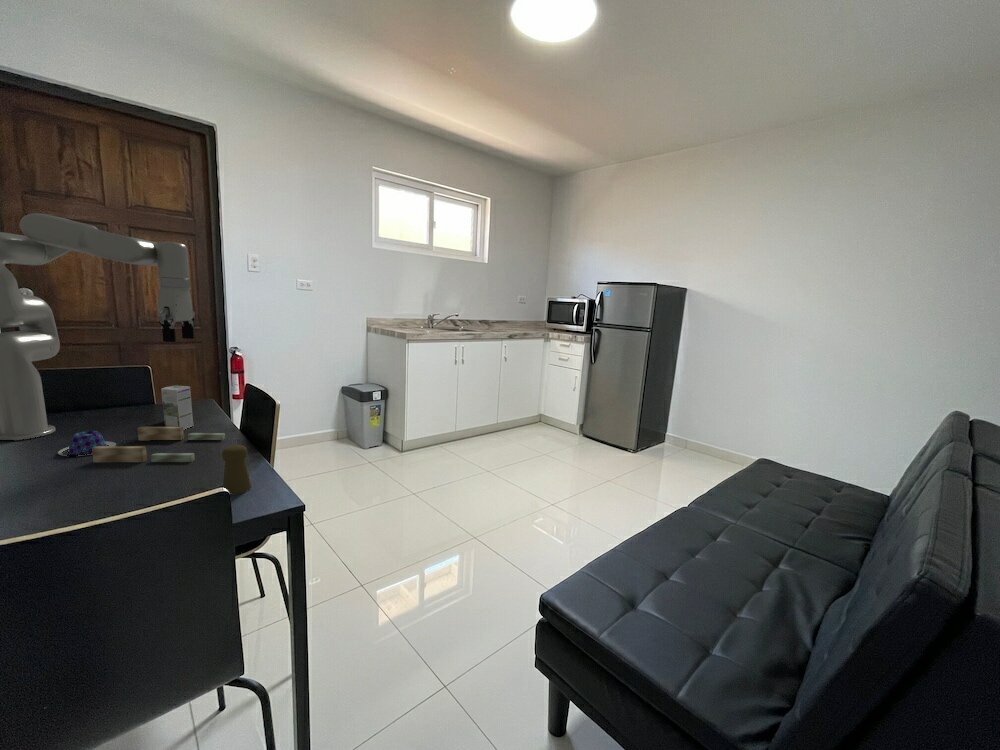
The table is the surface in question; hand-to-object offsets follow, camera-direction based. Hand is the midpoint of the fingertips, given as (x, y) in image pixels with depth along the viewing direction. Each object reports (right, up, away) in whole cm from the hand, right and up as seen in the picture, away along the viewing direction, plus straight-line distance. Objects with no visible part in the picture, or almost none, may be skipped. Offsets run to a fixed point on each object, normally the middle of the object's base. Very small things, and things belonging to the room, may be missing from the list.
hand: (179, 340), depth 130 cm
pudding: (-19, -33, -10) cm, 39 cm away
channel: (+1, -33, -7) cm, 34 cm away
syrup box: (-9, -29, +11) cm, 33 cm away
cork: (+36, -39, -28) cm, 60 cm away
